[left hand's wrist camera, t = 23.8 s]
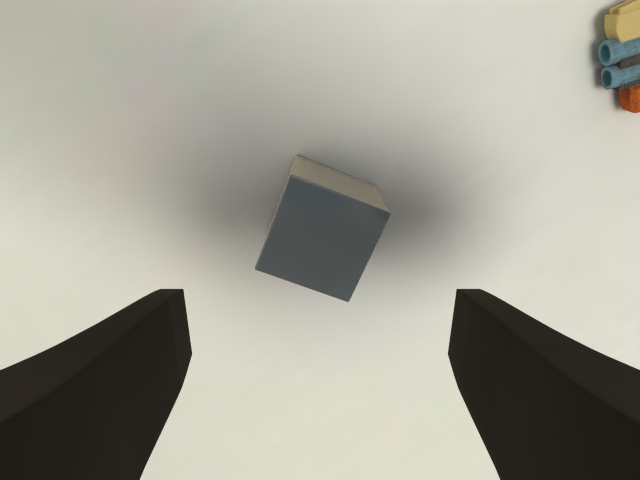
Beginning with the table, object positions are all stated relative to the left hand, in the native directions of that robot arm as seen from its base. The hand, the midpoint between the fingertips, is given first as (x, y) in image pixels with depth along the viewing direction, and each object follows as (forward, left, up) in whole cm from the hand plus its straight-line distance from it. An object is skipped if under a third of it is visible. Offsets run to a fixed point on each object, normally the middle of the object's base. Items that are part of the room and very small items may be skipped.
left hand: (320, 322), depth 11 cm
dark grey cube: (0, 0, -9) cm, 9 cm away
